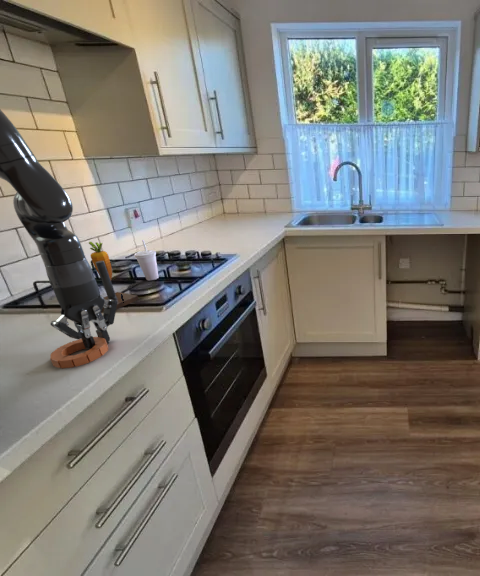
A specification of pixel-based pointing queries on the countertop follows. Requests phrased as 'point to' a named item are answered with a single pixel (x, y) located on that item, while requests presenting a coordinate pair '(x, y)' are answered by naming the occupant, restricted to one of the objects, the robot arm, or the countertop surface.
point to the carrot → (100, 257)
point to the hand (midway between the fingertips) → (99, 346)
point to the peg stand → (110, 290)
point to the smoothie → (147, 263)
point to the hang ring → (63, 359)
